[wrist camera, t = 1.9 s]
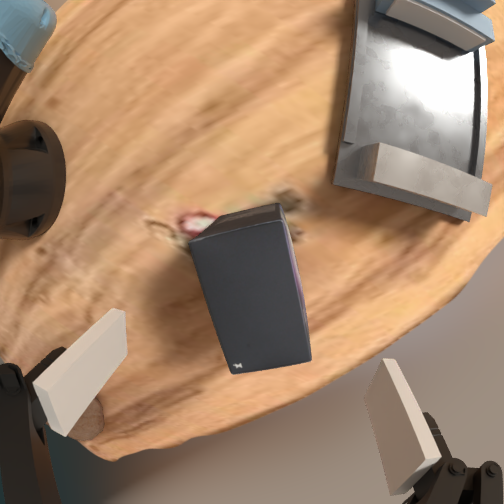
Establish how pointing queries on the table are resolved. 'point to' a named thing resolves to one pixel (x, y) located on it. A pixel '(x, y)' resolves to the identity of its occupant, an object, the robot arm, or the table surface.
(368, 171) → the vise
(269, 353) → the small box
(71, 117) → the table surface
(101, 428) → the stone
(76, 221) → the table surface
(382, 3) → the sliding jaw
